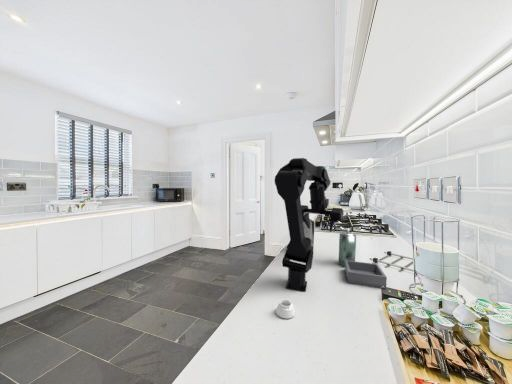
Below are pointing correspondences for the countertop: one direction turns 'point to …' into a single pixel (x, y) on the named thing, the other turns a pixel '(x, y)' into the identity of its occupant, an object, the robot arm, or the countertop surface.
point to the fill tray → (364, 274)
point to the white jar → (285, 309)
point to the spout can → (346, 247)
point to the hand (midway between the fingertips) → (319, 229)
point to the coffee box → (309, 232)
